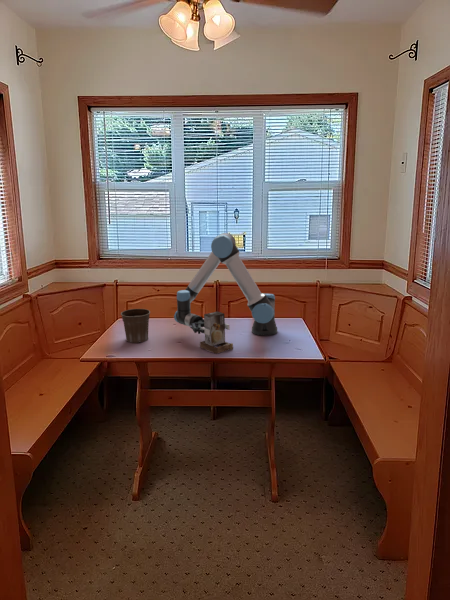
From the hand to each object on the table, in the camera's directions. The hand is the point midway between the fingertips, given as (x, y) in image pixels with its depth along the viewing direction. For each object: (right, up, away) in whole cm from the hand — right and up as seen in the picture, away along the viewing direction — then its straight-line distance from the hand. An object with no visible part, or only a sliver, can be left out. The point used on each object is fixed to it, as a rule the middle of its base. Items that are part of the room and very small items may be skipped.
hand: (219, 329), depth 229 cm
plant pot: (-47, -7, +20) cm, 51 cm away
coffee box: (-2, -7, +4) cm, 9 cm away
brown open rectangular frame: (-2, -10, +5) cm, 11 cm away
